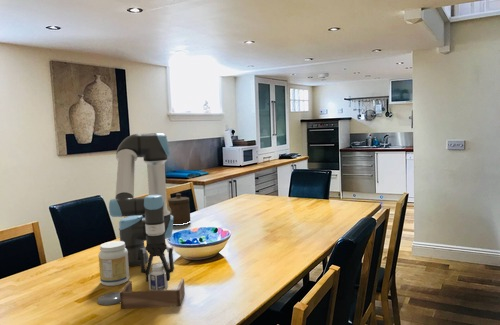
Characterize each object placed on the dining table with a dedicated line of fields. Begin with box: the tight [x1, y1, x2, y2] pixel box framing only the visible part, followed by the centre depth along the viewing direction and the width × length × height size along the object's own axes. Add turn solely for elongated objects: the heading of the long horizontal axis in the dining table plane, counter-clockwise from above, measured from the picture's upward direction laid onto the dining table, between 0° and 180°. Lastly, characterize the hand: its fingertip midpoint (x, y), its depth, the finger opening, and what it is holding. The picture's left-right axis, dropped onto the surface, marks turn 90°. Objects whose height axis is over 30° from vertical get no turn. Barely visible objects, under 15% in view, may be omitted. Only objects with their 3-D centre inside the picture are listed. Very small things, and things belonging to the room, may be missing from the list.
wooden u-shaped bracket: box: [119, 278, 186, 310], centre depth 153 cm, size 12×22×6 cm, turn 91°
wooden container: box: [167, 192, 191, 224], centre depth 281 cm, size 15×15×22 cm
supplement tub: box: [98, 240, 130, 287], centre depth 174 cm, size 12×12×17 cm
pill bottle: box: [150, 263, 165, 291], centre depth 162 cm, size 6×6×10 cm
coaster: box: [97, 291, 121, 306], centre depth 156 cm, size 11×11×1 cm
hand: (158, 288), depth 162 cm, fingers closed on pill bottle, 6 cm apart
